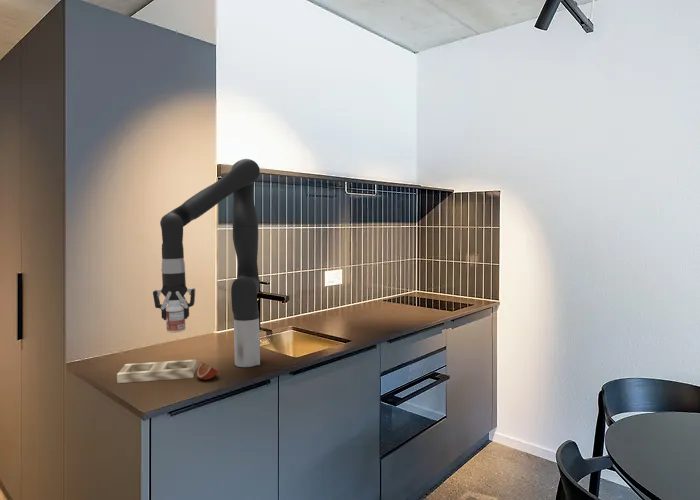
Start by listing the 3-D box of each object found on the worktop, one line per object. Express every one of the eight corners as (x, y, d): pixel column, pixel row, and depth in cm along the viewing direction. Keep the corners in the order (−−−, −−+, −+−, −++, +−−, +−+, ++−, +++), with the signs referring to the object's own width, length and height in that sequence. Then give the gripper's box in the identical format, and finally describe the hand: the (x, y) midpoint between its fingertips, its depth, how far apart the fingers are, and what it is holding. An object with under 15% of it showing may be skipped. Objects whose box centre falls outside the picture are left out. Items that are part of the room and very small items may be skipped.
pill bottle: (169, 329, 165) (168, 298, 164) (187, 328, 166) (186, 297, 165) (164, 333, 159) (162, 301, 158) (183, 332, 160) (181, 300, 159)
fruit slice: (193, 377, 160) (193, 363, 160) (212, 373, 164) (212, 359, 164) (203, 384, 154) (202, 369, 153) (222, 379, 158) (221, 365, 157)
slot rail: (196, 367, 170) (196, 359, 170) (193, 377, 159) (192, 369, 159) (126, 372, 165) (125, 364, 165) (117, 383, 155) (116, 374, 154)
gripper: (196, 269, 166) (198, 315, 167) (153, 270, 163) (155, 318, 164) (194, 271, 159) (195, 320, 160) (148, 273, 156) (151, 322, 157)
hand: (175, 319), depth 162 cm, fingers closed on pill bottle, 6 cm apart
